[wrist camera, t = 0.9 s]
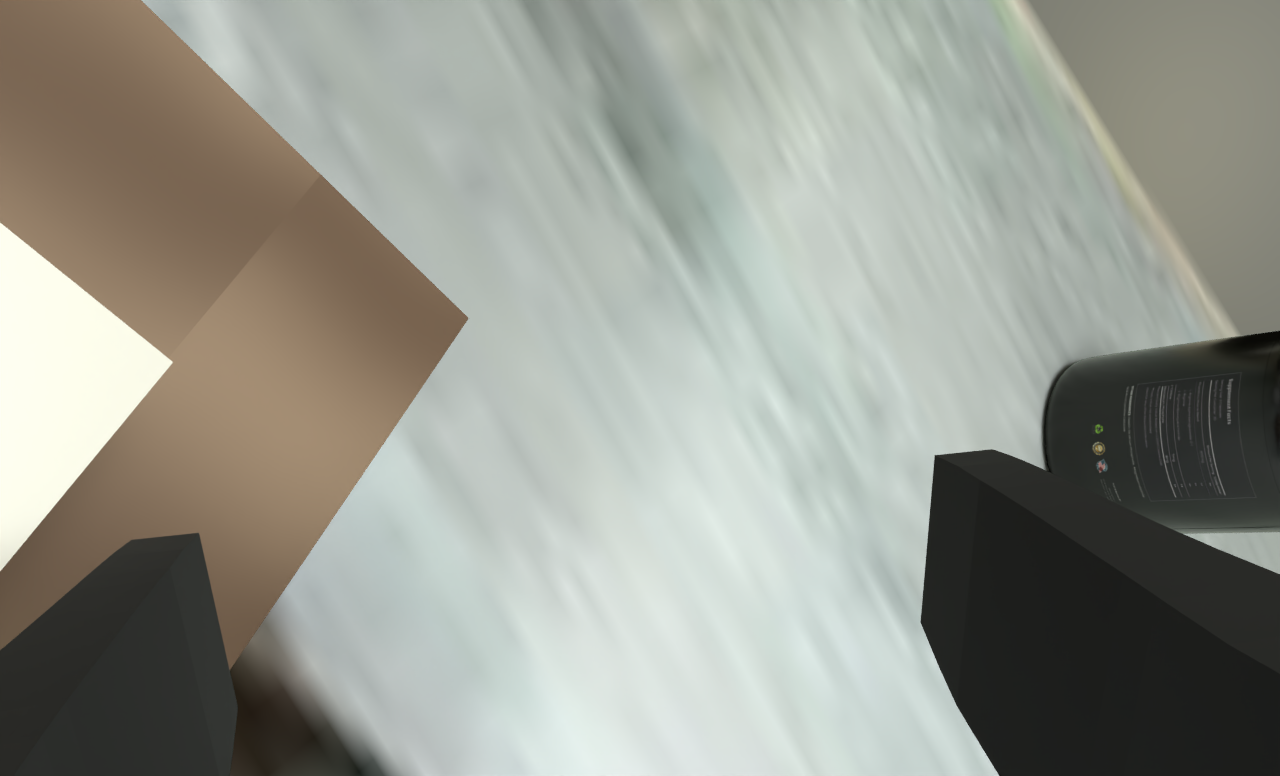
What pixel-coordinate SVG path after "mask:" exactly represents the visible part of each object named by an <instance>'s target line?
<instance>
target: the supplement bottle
mask: <svg viewBox="0 0 1280 776" xmlns="http://www.w3.org/2000/svg"><path fill="white" fill-rule="evenodd" d="M1045 443H1046V453H1047V460H1048V466H1049V470H1050V473H1052V474H1055V475H1057V476H1059V477H1061V478H1063V479H1065V480H1067V481H1070V482H1072V483H1074V484H1076V485H1078V486H1080V487H1082V488H1084V489H1087V490H1089V491H1091V492H1093V493H1095V494H1097V495H1099V496H1101V497H1104V498H1106V499H1108V500H1110V501H1112V502H1114V503H1116V504H1119V505H1121V506H1123V507H1125V508H1127V509H1129V510H1131V511H1133V512H1136V513H1138V514H1140V515H1142V516H1144V517H1146V518H1149V519H1151V520H1153V521H1155V522H1157V523H1159V524H1162V525H1164V526H1166V527H1168V528H1171V529H1173V530H1175V531H1177V532H1179V533H1182V534H1193V533H1252V532H1280V331H1273V332H1266V333H1259V334H1251V335H1245V336H1237V337H1230V338H1223V339H1216V340H1209V341H1201V342H1194V343H1187V344H1180V345H1173V346H1166V347H1159V348H1151V349H1144V350H1137V351H1130V352H1123V353H1116V354H1110V355H1103V356H1097V357H1091V358H1087V359H1083V360H1080V361H1078V362H1076V363H1074V364H1073V365H1071V366H1070V367H1069V368H1068V369H1067V370H1066V371H1065V372H1064V373H1063V374H1062V375H1061V376H1060V378H1059V379H1058V381H1057V383H1056V384H1055V386H1054V388H1053V391H1052V393H1051V396H1050V399H1049V403H1048V408H1047V414H1046V423H1045Z"/></svg>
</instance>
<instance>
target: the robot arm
mask: <svg viewBox="0 0 1280 776" xmlns="http://www.w3.org/2000/svg"><path fill="white" fill-rule="evenodd" d="M921 624H922V627H923V629H924V632H925V634H926V636H927V639H928V641H929V644H930V646H931V648H932V651H933V653H934V656H935V658H936V660H937V663H938V665H939V668H940V670H941V672H942V674H943V676H944V679H945V681H946V683H947V685H948V687H949V689H950V692H951V694H952V696H953V698H954V700H955V703H956V705H957V707H958V708H959V710H960V712H961V713H962V715H963V717H964V718H965V720H966V722H967V723H968V725H969V727H970V728H971V730H972V732H973V733H974V735H975V737H976V738H977V740H978V741H979V743H980V745H981V746H982V748H983V750H984V751H985V753H986V755H987V756H988V758H989V759H990V761H991V763H992V764H993V766H994V768H995V769H996V771H997V773H998V774H999V776H1280V574H1277V573H1275V572H1272V571H1270V570H1268V569H1265V568H1263V567H1260V566H1258V565H1255V564H1253V563H1250V562H1248V561H1245V560H1243V559H1241V558H1238V557H1236V556H1233V555H1231V554H1228V553H1226V552H1223V551H1221V550H1218V549H1216V548H1214V547H1211V546H1209V545H1207V544H1205V543H1202V542H1200V541H1198V540H1195V539H1193V538H1191V537H1188V536H1186V535H1184V534H1182V533H1179V532H1177V531H1175V530H1173V529H1171V528H1168V527H1166V526H1164V525H1162V524H1159V523H1157V522H1155V521H1153V520H1151V519H1149V518H1146V517H1144V516H1142V515H1140V514H1138V513H1136V512H1133V511H1131V510H1129V509H1127V508H1125V507H1123V506H1121V505H1119V504H1116V503H1114V502H1112V501H1110V500H1108V499H1106V498H1104V497H1101V496H1099V495H1097V494H1095V493H1093V492H1091V491H1089V490H1087V489H1084V488H1082V487H1080V486H1078V485H1076V484H1074V483H1072V482H1070V481H1067V480H1065V479H1063V478H1061V477H1059V476H1057V475H1055V474H1052V473H1050V472H1048V471H1046V470H1043V469H1041V468H1039V467H1037V466H1034V465H1032V464H1030V463H1027V462H1025V461H1023V460H1020V459H1018V458H1015V457H1013V456H1010V455H1007V454H1004V453H1001V452H999V451H996V450H982V451H972V452H963V453H953V454H944V455H935V460H934V472H933V484H932V496H931V507H930V519H929V531H928V543H927V555H926V566H925V578H924V590H923V602H922V613H921ZM237 710H238V706H237V701H236V697H235V692H234V688H233V683H232V679H231V674H230V670H229V665H228V661H227V656H226V652H225V647H224V643H223V638H222V634H221V629H220V625H219V620H218V616H217V611H216V607H215V602H214V598H213V593H212V589H211V584H210V580H209V575H208V571H207V566H206V562H205V557H204V553H203V548H202V544H201V539H200V535H199V533H191V534H182V535H172V536H163V537H153V538H144V539H134V540H130V541H129V542H128V543H126V544H125V545H124V546H122V547H121V548H120V549H118V550H117V551H116V552H114V553H113V554H112V555H111V556H109V557H108V558H107V559H106V560H105V561H103V562H102V563H101V564H100V565H99V566H98V567H96V568H95V569H94V570H93V571H92V572H91V573H89V574H88V575H87V576H86V577H85V578H84V579H82V580H81V581H80V582H79V583H78V584H77V585H76V586H74V587H73V588H72V589H71V590H70V591H69V592H67V593H66V594H65V595H64V596H63V597H62V598H61V599H59V600H58V601H57V602H56V603H55V604H54V605H53V606H51V607H50V608H49V609H48V610H47V611H46V612H44V613H43V614H42V615H41V616H40V617H39V618H37V619H36V620H35V621H34V622H33V623H32V624H30V625H29V626H28V627H27V628H26V629H25V630H23V631H22V632H21V633H20V634H19V635H18V636H16V637H15V638H14V639H13V640H12V641H11V642H9V643H8V644H7V645H6V646H5V647H3V648H2V649H1V650H0V776H230V769H231V762H232V754H233V745H234V736H235V728H236V719H237Z"/></svg>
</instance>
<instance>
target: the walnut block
mask: <svg viewBox="0 0 1280 776" xmlns="http://www.w3.org/2000/svg"><path fill="white" fill-rule="evenodd" d="M0 223H1V224H3V225H4V226H5V227H6V228H8V229H9V230H10V231H11V232H12V233H14V234H15V235H16V236H17V237H19V238H20V239H21V240H22V241H24V242H25V243H26V244H27V245H29V246H30V247H31V248H32V249H34V250H35V251H36V252H37V253H38V254H40V255H41V256H42V257H43V258H45V259H46V260H47V261H48V262H50V263H51V264H52V265H53V266H55V267H56V268H57V269H58V270H60V271H61V272H62V273H63V274H65V275H66V276H67V277H68V278H69V279H71V280H72V281H73V282H74V283H76V284H77V285H78V286H79V287H81V288H82V289H83V290H84V291H86V292H87V293H88V294H89V295H91V296H92V297H93V298H94V299H95V300H97V301H98V302H99V303H100V304H102V305H103V306H104V307H105V308H107V309H108V310H109V311H110V312H112V313H113V314H114V315H115V316H117V317H118V318H119V319H120V320H122V321H123V322H124V323H125V324H126V325H128V326H129V327H130V328H131V329H133V330H134V331H135V332H136V333H138V334H139V335H140V336H141V337H143V338H144V339H145V340H146V341H148V342H149V343H150V344H151V345H152V346H154V347H155V348H156V349H157V350H159V351H160V352H161V353H162V354H164V355H165V356H166V357H167V358H169V359H170V360H171V361H172V362H173V363H172V364H171V365H170V367H169V368H168V369H167V370H166V371H165V373H164V374H163V375H162V376H161V377H160V379H159V380H158V381H157V382H156V384H155V385H154V386H153V387H152V388H151V390H150V391H149V392H148V393H147V394H146V396H145V397H144V398H143V399H142V400H141V402H140V403H139V404H138V405H137V406H136V408H135V409H134V410H133V411H132V413H131V414H130V415H129V416H128V417H127V419H126V420H125V421H124V422H123V423H122V425H121V426H120V427H119V428H118V429H117V431H116V432H115V433H114V434H113V436H112V437H111V438H110V439H109V440H108V442H107V443H106V444H105V445H104V446H103V448H102V449H101V450H100V451H99V452H98V454H97V455H96V456H95V457H94V459H93V460H92V461H91V462H90V463H89V465H88V466H87V467H86V468H85V469H84V471H83V472H82V473H81V474H80V475H79V477H78V478H77V479H76V480H75V482H74V483H73V484H72V485H71V486H70V488H69V489H68V490H67V491H66V492H65V494H64V495H63V496H62V497H61V498H60V500H59V501H58V502H57V503H56V505H55V506H54V507H53V508H52V509H51V511H50V512H49V513H48V514H47V515H46V517H45V518H44V519H43V520H42V521H41V523H40V524H39V525H38V526H37V527H36V529H35V530H34V531H33V532H32V534H31V535H30V536H29V537H28V538H27V540H26V541H25V542H24V543H23V544H22V546H21V547H20V548H19V549H18V550H17V552H16V553H15V554H14V555H13V557H12V558H11V559H10V560H9V561H8V563H7V564H6V565H5V566H4V567H3V569H2V570H1V571H0V650H1V649H2V648H3V647H5V646H6V645H7V644H8V643H9V642H11V641H12V640H13V639H14V638H15V637H16V636H18V635H19V634H20V633H21V632H22V631H23V630H25V629H26V628H27V627H28V626H29V625H30V624H32V623H33V622H34V621H35V620H36V619H37V618H39V617H40V616H41V615H42V614H43V613H44V612H46V611H47V610H48V609H49V608H50V607H51V606H53V605H54V604H55V603H56V602H57V601H58V600H59V599H61V598H62V597H63V596H64V595H65V594H66V593H67V592H69V591H70V590H71V589H72V588H73V587H74V586H76V585H77V584H78V583H79V582H80V581H81V580H82V579H84V578H85V577H86V576H87V575H88V574H89V573H91V572H92V571H93V570H94V569H95V568H96V567H98V566H99V565H100V564H101V563H102V562H103V561H105V560H106V559H107V558H108V557H109V556H111V555H112V554H113V553H114V552H116V551H117V550H118V549H120V548H121V547H122V546H124V545H125V544H126V543H128V542H129V541H130V540H134V539H144V538H153V537H163V536H172V535H182V534H191V533H199V535H200V539H201V544H202V548H203V553H204V557H205V562H206V566H207V571H208V575H209V580H210V584H211V589H212V593H213V598H214V602H215V607H216V611H217V616H218V620H219V625H220V629H221V634H222V638H223V643H224V647H225V652H226V656H227V661H228V665H229V670H230V669H231V668H232V666H233V665H234V663H235V662H236V660H237V659H238V657H239V656H240V654H241V653H242V651H243V650H244V648H245V647H246V645H247V644H248V643H249V641H250V640H251V638H252V637H253V635H254V634H255V632H256V631H257V629H258V628H259V626H260V625H261V623H262V622H263V620H264V619H265V617H266V616H267V615H268V613H269V612H270V610H271V609H272V607H273V606H274V604H275V603H276V601H277V600H278V598H279V597H280V595H281V594H282V592H283V591H284V590H285V588H286V587H287V585H288V584H289V582H290V581H291V579H292V578H293V576H294V575H295V573H296V572H297V570H298V569H299V567H300V566H301V564H302V563H303V562H304V560H305V559H306V557H307V556H308V554H309V553H310V551H311V550H312V548H313V547H314V545H315V544H316V542H317V541H318V539H319V538H320V536H321V535H322V534H323V532H324V531H325V529H326V528H327V526H328V525H329V523H330V522H331V520H332V519H333V517H334V516H335V514H336V513H337V511H338V510H339V508H340V507H341V506H342V504H343V503H344V501H345V500H346V498H347V497H348V495H349V494H350V492H351V491H352V489H353V488H354V486H355V485H356V483H357V482H358V480H359V479H360V478H361V476H362V475H363V473H364V472H365V470H366V469H367V467H368V466H369V464H370V463H371V461H372V460H373V458H374V457H375V455H376V454H377V452H378V451H379V450H380V448H381V447H382V445H383V444H384V442H385V441H386V439H387V438H388V436H389V435H390V433H391V432H392V430H393V429H394V427H395V426H396V424H397V423H398V422H399V420H400V419H401V417H402V416H403V414H404V413H405V411H406V410H407V408H408V407H409V405H410V404H411V402H412V401H413V399H414V398H415V397H416V395H417V394H418V392H419V391H420V389H421V388H422V386H423V385H424V383H425V382H426V380H427V379H428V377H429V376H430V374H431V373H432V371H433V370H434V369H435V367H436V366H437V364H438V363H439V361H440V360H441V358H442V357H443V355H444V354H445V352H446V351H447V349H448V348H449V346H450V345H451V343H452V342H453V341H454V339H455V338H456V336H457V335H458V333H459V332H460V330H461V329H462V327H463V326H464V324H465V323H466V321H467V320H468V317H467V316H466V315H465V314H464V313H463V312H462V311H461V310H460V309H459V308H458V307H457V306H455V305H454V304H453V303H452V302H451V301H450V300H449V299H448V298H447V297H446V296H445V295H444V294H443V293H442V292H441V291H440V290H439V289H438V288H437V287H436V286H435V285H434V284H433V283H432V282H431V281H430V280H429V279H428V278H427V277H426V276H425V275H424V274H423V273H421V272H420V271H419V270H418V269H417V268H416V267H415V266H414V265H413V264H412V263H411V262H410V261H409V260H408V259H407V258H406V257H405V256H404V255H403V254H402V253H401V252H400V251H399V250H398V249H397V248H396V247H395V246H394V245H393V244H392V243H391V242H390V241H389V240H387V239H386V238H385V237H384V236H383V235H382V234H381V233H380V232H379V231H378V230H377V229H376V228H375V227H374V226H373V225H372V224H371V223H370V222H369V221H368V220H367V219H366V218H365V217H364V216H363V215H362V214H361V213H360V212H359V211H358V210H357V209H356V208H355V207H353V206H352V205H351V204H350V203H349V202H348V201H347V200H346V199H345V198H344V197H343V196H342V195H341V194H340V193H339V192H338V191H337V190H336V189H335V188H334V187H333V186H332V185H331V184H330V183H329V182H328V181H327V180H326V179H325V178H324V177H323V176H322V175H321V174H319V173H318V172H317V171H316V170H315V169H314V168H313V167H312V166H311V165H310V164H309V163H308V162H307V161H306V160H305V159H304V158H303V157H302V156H301V155H300V154H299V153H298V152H297V151H296V150H295V149H294V148H293V147H292V146H291V145H290V144H289V143H288V142H287V141H285V140H284V139H283V138H282V137H281V136H280V135H279V134H278V133H277V132H276V131H275V130H274V129H273V128H272V127H271V126H270V125H269V124H268V123H267V122H266V121H265V120H264V119H263V118H262V117H261V116H260V115H259V114H258V113H257V112H256V111H255V110H254V109H252V108H251V107H250V106H249V105H248V104H247V103H246V102H245V101H244V100H243V99H242V98H241V97H240V96H239V95H238V94H237V93H236V92H235V91H234V90H233V89H232V88H231V87H230V86H229V85H228V84H227V83H226V82H225V81H224V80H223V79H222V78H221V77H220V76H218V75H217V74H216V73H215V72H214V71H213V70H212V69H211V68H210V67H209V66H208V65H207V64H206V63H205V62H204V61H203V60H202V59H201V58H200V57H199V56H198V55H197V54H196V53H195V52H194V51H193V50H192V49H191V48H190V47H189V46H188V45H187V44H186V43H184V42H183V41H182V40H181V39H180V38H179V37H178V36H177V35H176V34H175V33H174V32H173V31H172V30H171V29H170V28H169V27H168V26H167V25H166V24H165V23H164V22H163V21H162V20H161V19H160V18H159V17H158V16H157V15H156V14H155V13H154V12H153V11H152V10H150V9H149V8H148V7H147V6H146V5H145V4H144V3H143V2H142V1H141V0H0Z"/></svg>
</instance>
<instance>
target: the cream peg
mask: <svg viewBox="0 0 1280 776" xmlns="http://www.w3.org/2000/svg"><path fill="white" fill-rule="evenodd" d="M172 363H173V362H172V361H171V360H170V359H169V358H167V357H166V356H165V355H164V354H162V353H161V352H160V351H159V350H157V349H156V348H155V347H154V346H152V345H151V344H150V343H149V342H148V341H146V340H145V339H144V338H143V337H141V336H140V335H139V334H138V333H136V332H135V331H134V330H133V329H131V328H130V327H129V326H128V325H126V324H125V323H124V322H123V321H122V320H120V319H119V318H118V317H117V316H115V315H114V314H113V313H112V312H110V311H109V310H108V309H107V308H105V307H104V306H103V305H102V304H100V303H99V302H98V301H97V300H95V299H94V298H93V297H92V296H91V295H89V294H88V293H87V292H86V291H84V290H83V289H82V288H81V287H79V286H78V285H77V284H76V283H74V282H73V281H72V280H71V279H69V278H68V277H67V276H66V275H65V274H63V273H62V272H61V271H60V270H58V269H57V268H56V267H55V266H53V265H52V264H51V263H50V262H48V261H47V260H46V259H45V258H43V257H42V256H41V255H40V254H38V253H37V252H36V251H35V250H34V249H32V248H31V247H30V246H29V245H27V244H26V243H25V242H24V241H22V240H21V239H20V238H19V237H17V236H16V235H15V234H14V233H12V232H11V231H10V230H9V229H8V228H6V227H5V226H4V225H3V224H1V223H0V571H1V570H2V569H3V567H4V566H5V565H6V564H7V563H8V561H9V560H10V559H11V558H12V557H13V555H14V554H15V553H16V552H17V550H18V549H19V548H20V547H21V546H22V544H23V543H24V542H25V541H26V540H27V538H28V537H29V536H30V535H31V534H32V532H33V531H34V530H35V529H36V527H37V526H38V525H39V524H40V523H41V521H42V520H43V519H44V518H45V517H46V515H47V514H48V513H49V512H50V511H51V509H52V508H53V507H54V506H55V505H56V503H57V502H58V501H59V500H60V498H61V497H62V496H63V495H64V494H65V492H66V491H67V490H68V489H69V488H70V486H71V485H72V484H73V483H74V482H75V480H76V479H77V478H78V477H79V475H80V474H81V473H82V472H83V471H84V469H85V468H86V467H87V466H88V465H89V463H90V462H91V461H92V460H93V459H94V457H95V456H96V455H97V454H98V452H99V451H100V450H101V449H102V448H103V446H104V445H105V444H106V443H107V442H108V440H109V439H110V438H111V437H112V436H113V434H114V433H115V432H116V431H117V429H118V428H119V427H120V426H121V425H122V423H123V422H124V421H125V420H126V419H127V417H128V416H129V415H130V414H131V413H132V411H133V410H134V409H135V408H136V406H137V405H138V404H139V403H140V402H141V400H142V399H143V398H144V397H145V396H146V394H147V393H148V392H149V391H150V390H151V388H152V387H153V386H154V385H155V384H156V382H157V381H158V380H159V379H160V377H161V376H162V375H163V374H164V373H165V371H166V370H167V369H168V368H169V367H170V365H171V364H172Z"/></svg>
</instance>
